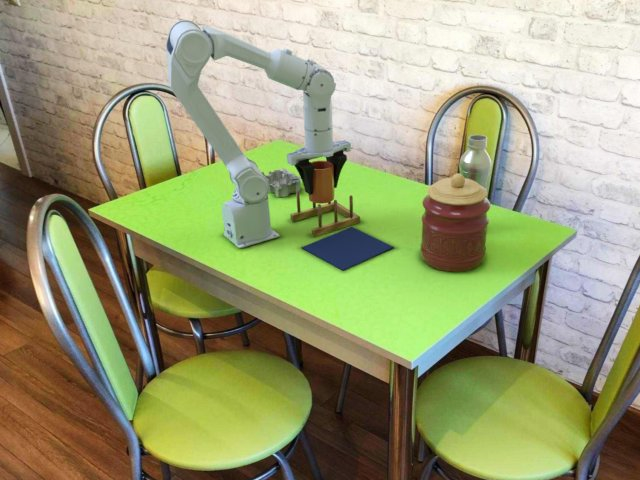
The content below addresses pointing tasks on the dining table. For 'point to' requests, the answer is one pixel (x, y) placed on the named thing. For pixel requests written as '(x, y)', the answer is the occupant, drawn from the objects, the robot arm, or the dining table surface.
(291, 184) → the egg carton
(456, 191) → the kitchen canister
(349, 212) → the drying rack
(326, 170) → the tumbler
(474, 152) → the plastic bottle
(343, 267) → the cloth
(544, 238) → the dining table surface
